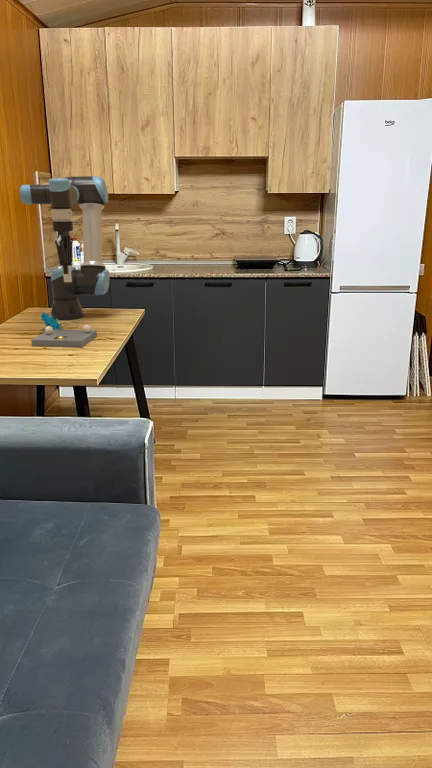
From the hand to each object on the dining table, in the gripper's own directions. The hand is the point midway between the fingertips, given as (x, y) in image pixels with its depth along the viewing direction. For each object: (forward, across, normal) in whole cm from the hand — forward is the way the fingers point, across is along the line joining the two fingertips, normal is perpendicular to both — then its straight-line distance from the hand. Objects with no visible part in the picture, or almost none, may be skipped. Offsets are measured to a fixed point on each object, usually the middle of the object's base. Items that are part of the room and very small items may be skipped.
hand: (67, 281), depth 225 cm
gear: (+23, +10, +13) cm, 28 cm away
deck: (+22, -8, 0) cm, 24 cm away
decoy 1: (+18, -7, +7) cm, 21 cm away
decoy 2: (+18, -3, -8) cm, 20 cm away
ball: (+21, -12, 0) cm, 24 cm away
